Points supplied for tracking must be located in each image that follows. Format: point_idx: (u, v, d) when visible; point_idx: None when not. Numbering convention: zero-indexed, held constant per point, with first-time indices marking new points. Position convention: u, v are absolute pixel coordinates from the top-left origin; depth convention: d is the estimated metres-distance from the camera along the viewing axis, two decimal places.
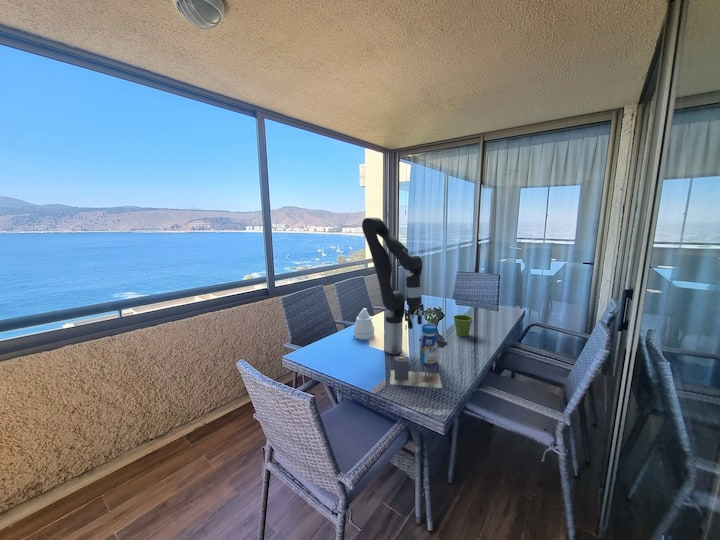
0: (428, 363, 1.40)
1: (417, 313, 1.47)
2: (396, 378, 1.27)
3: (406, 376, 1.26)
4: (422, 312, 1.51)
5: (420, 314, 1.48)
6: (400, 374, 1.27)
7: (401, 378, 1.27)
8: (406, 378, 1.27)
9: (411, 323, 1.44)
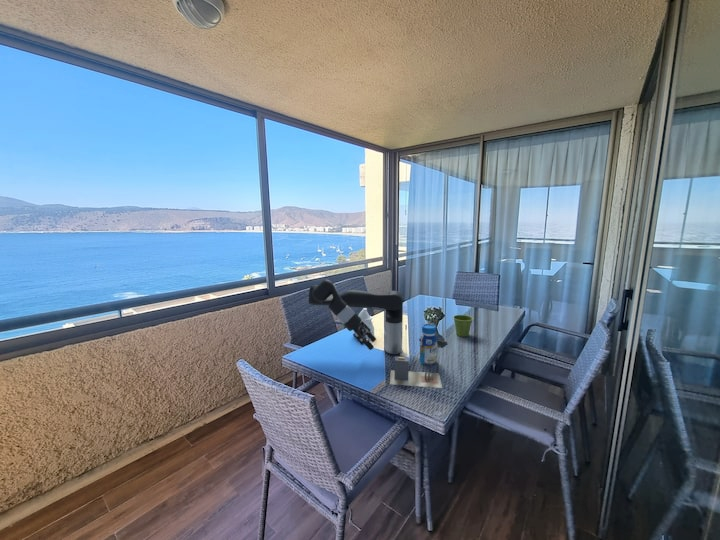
0: (428, 363, 1.40)
1: (365, 331, 1.29)
2: (396, 378, 1.27)
3: (406, 376, 1.26)
4: (367, 328, 1.34)
5: (368, 330, 1.31)
6: (400, 374, 1.27)
7: (401, 378, 1.27)
8: (406, 378, 1.27)
9: (369, 342, 1.24)
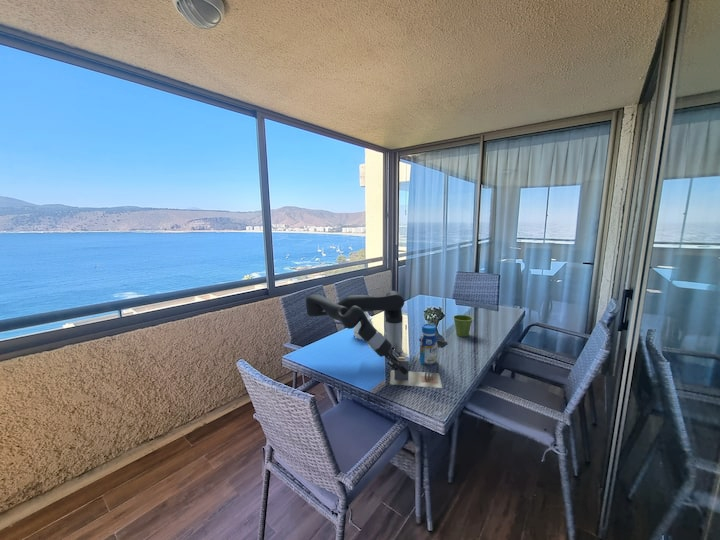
0: (428, 363, 1.40)
1: (395, 356, 1.28)
2: (396, 378, 1.27)
3: (406, 376, 1.26)
4: (398, 354, 1.32)
5: (398, 356, 1.29)
6: (400, 374, 1.27)
7: (401, 378, 1.27)
8: (406, 378, 1.27)
9: (403, 367, 1.25)
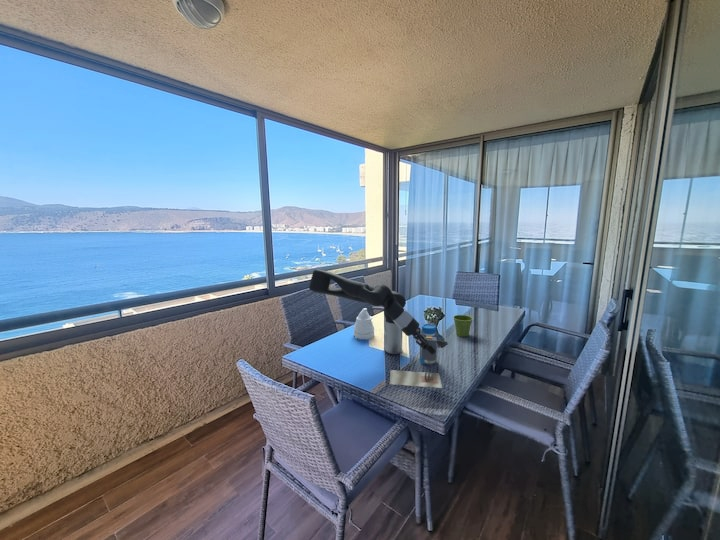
0: (428, 363, 1.40)
1: (422, 335, 1.24)
2: (423, 358, 1.24)
3: (434, 356, 1.23)
4: None
5: (425, 336, 1.26)
6: (427, 354, 1.23)
7: (428, 358, 1.23)
8: (434, 358, 1.23)
9: (430, 347, 1.22)
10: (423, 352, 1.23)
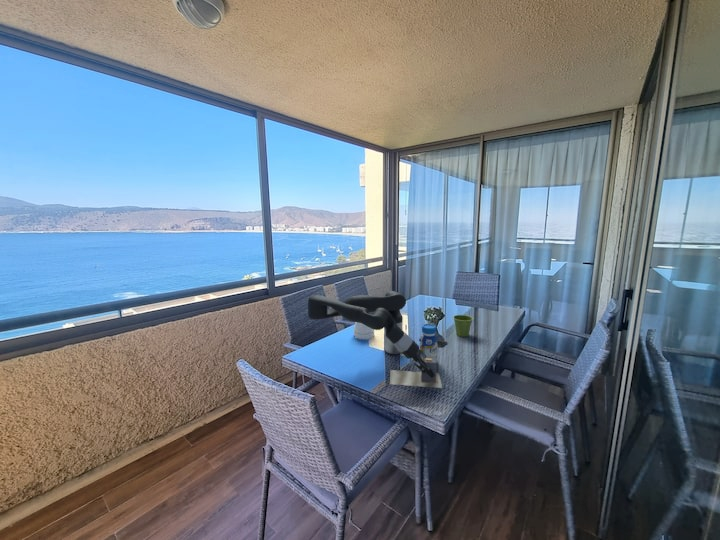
0: None
1: (423, 358, 1.27)
2: (423, 380, 1.26)
3: (433, 378, 1.25)
4: (423, 355, 1.31)
5: (425, 357, 1.29)
6: (427, 376, 1.25)
7: (428, 380, 1.25)
8: (433, 380, 1.25)
9: (430, 370, 1.22)
10: (423, 374, 1.25)
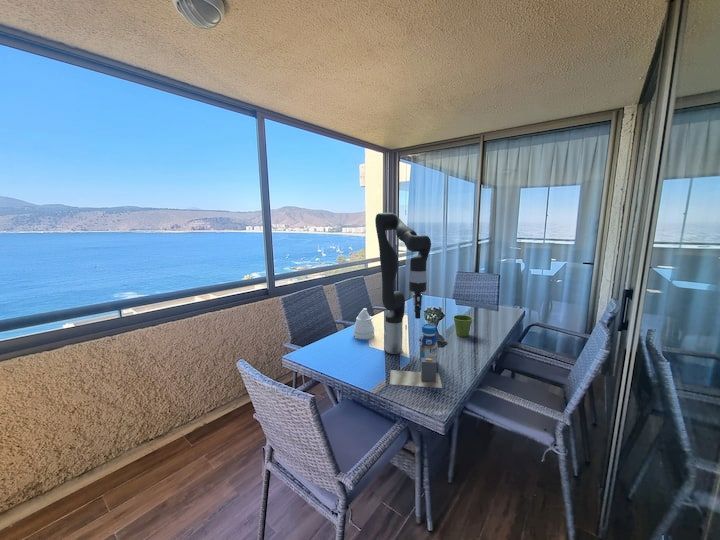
0: None
1: None
2: (423, 380, 1.26)
3: (433, 378, 1.25)
4: None
5: None
6: (427, 376, 1.25)
7: (428, 380, 1.25)
8: (433, 380, 1.25)
9: (419, 312, 1.27)
10: (423, 374, 1.25)
